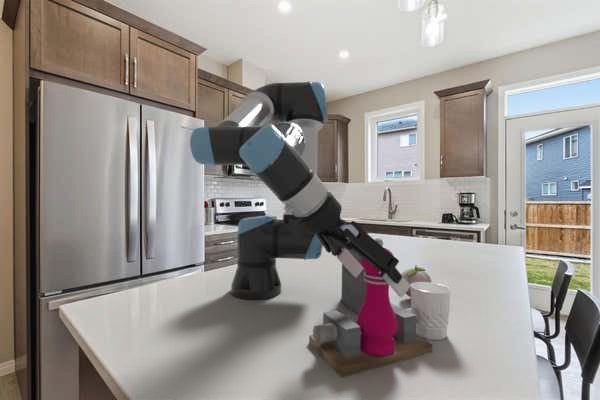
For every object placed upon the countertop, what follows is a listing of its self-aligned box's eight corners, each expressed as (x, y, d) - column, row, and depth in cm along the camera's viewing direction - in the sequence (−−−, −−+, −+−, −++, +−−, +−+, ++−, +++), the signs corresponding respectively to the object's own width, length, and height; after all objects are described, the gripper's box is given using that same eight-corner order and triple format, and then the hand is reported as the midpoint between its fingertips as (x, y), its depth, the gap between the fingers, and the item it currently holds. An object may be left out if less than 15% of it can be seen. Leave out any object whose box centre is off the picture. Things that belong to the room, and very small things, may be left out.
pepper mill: (392, 339, 57) (394, 236, 57) (401, 359, 49) (403, 241, 50) (354, 337, 57) (356, 235, 58) (358, 356, 50) (360, 240, 50)
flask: (336, 296, 86) (337, 228, 86) (355, 295, 87) (356, 228, 87) (357, 316, 71) (358, 235, 71) (379, 314, 72) (380, 234, 72)
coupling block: (302, 344, 57) (302, 311, 57) (393, 325, 67) (394, 296, 67) (333, 379, 46) (334, 338, 46) (437, 350, 56) (438, 316, 56)
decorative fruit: (405, 292, 90) (406, 260, 90) (433, 298, 85) (434, 264, 85) (394, 300, 83) (394, 265, 83) (424, 307, 78) (424, 270, 78)
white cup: (447, 345, 58) (448, 295, 57) (406, 335, 62) (407, 288, 62) (451, 330, 64) (452, 285, 64) (413, 322, 68) (414, 279, 68)
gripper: (274, 215, 61) (334, 279, 68) (336, 226, 39) (418, 321, 45) (297, 190, 64) (354, 254, 70) (369, 187, 41) (443, 283, 47)
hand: (379, 280), depth 57 cm, fingers open, 13 cm apart
